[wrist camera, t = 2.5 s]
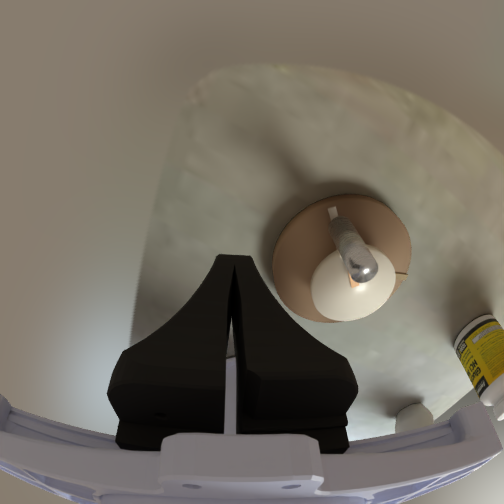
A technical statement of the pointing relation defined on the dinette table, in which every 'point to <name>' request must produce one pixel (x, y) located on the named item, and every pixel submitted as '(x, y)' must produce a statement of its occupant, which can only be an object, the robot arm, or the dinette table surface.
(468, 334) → the pill bottle
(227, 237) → the dinette table surface
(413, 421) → the salt shaker
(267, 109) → the dinette table surface
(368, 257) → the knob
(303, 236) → the base
